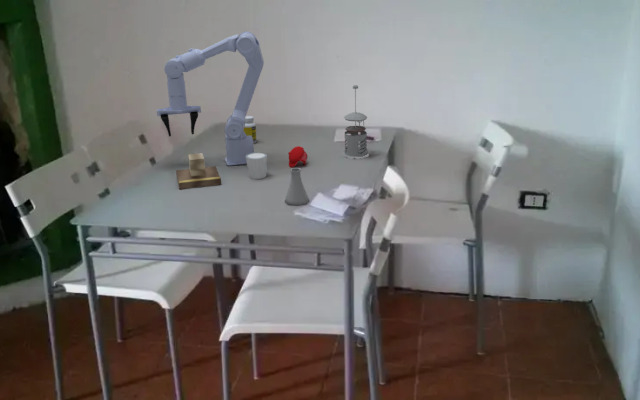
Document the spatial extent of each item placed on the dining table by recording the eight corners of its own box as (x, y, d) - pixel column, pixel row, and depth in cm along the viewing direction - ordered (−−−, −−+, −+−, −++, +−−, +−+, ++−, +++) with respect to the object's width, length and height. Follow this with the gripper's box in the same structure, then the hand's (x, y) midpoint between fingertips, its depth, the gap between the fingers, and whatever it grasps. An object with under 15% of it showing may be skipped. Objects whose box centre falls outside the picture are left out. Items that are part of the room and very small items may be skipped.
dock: (216, 171, 223) (215, 165, 222) (221, 184, 212) (220, 178, 211) (176, 176, 220) (175, 169, 219) (179, 189, 208) (178, 182, 208)
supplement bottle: (254, 144, 252) (252, 119, 248) (240, 144, 253) (238, 118, 249) (258, 140, 256) (256, 115, 253) (244, 140, 258) (243, 115, 254)
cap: (295, 150, 233) (284, 145, 228) (309, 147, 229) (298, 142, 225) (294, 172, 230) (284, 167, 226) (309, 169, 227) (298, 164, 222)
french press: (337, 157, 235) (336, 87, 225) (349, 148, 244) (348, 80, 235) (364, 160, 231) (364, 88, 222) (374, 150, 241) (375, 81, 232)
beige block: (203, 170, 218) (202, 153, 216) (205, 176, 213) (204, 158, 211) (189, 172, 217) (187, 154, 215) (191, 178, 212) (189, 160, 210)
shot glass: (271, 173, 220) (270, 153, 218) (263, 180, 214) (261, 159, 212) (252, 171, 223) (251, 151, 220) (243, 178, 217) (242, 157, 214)
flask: (284, 197, 200) (282, 165, 196) (308, 196, 200) (307, 164, 197) (285, 206, 193) (283, 174, 189) (310, 205, 194) (309, 172, 190)
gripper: (155, 99, 218) (160, 139, 223) (200, 96, 221) (203, 135, 226) (154, 95, 224) (159, 134, 229) (198, 91, 228) (201, 130, 233)
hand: (181, 134), depth 228 cm, fingers open, 7 cm apart
